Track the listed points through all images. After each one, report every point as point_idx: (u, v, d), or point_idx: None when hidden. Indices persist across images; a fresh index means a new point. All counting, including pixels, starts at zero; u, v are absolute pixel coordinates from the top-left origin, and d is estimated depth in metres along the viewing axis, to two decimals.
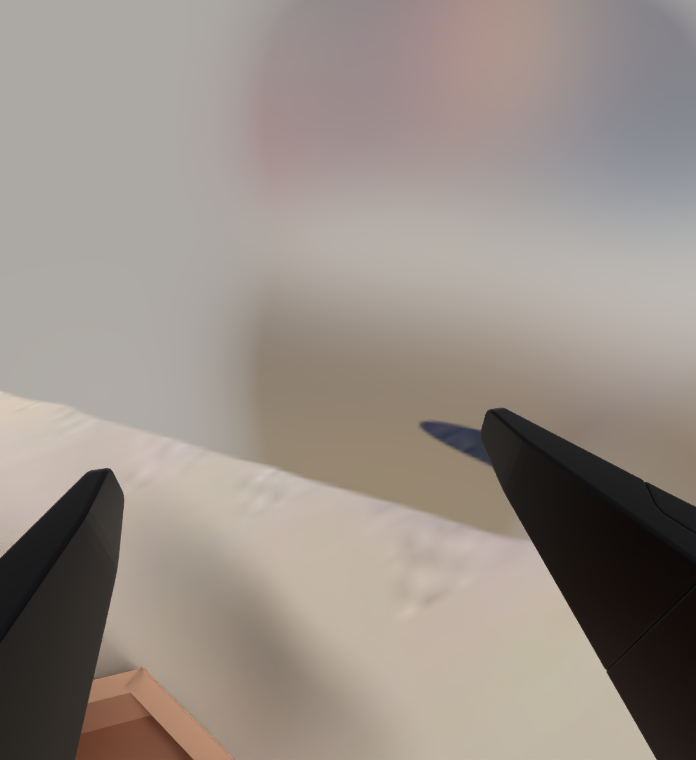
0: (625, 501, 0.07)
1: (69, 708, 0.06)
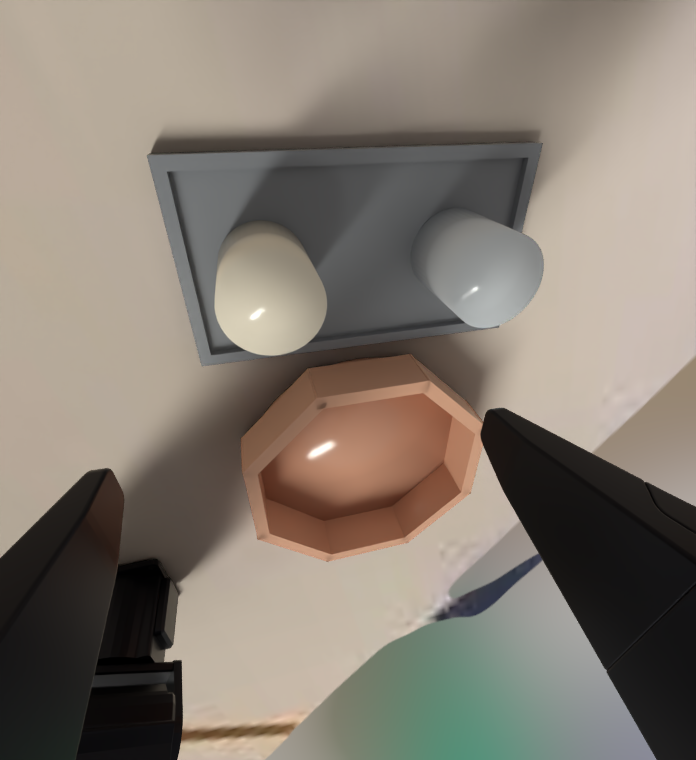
0: (625, 501, 0.07)
1: (69, 708, 0.06)
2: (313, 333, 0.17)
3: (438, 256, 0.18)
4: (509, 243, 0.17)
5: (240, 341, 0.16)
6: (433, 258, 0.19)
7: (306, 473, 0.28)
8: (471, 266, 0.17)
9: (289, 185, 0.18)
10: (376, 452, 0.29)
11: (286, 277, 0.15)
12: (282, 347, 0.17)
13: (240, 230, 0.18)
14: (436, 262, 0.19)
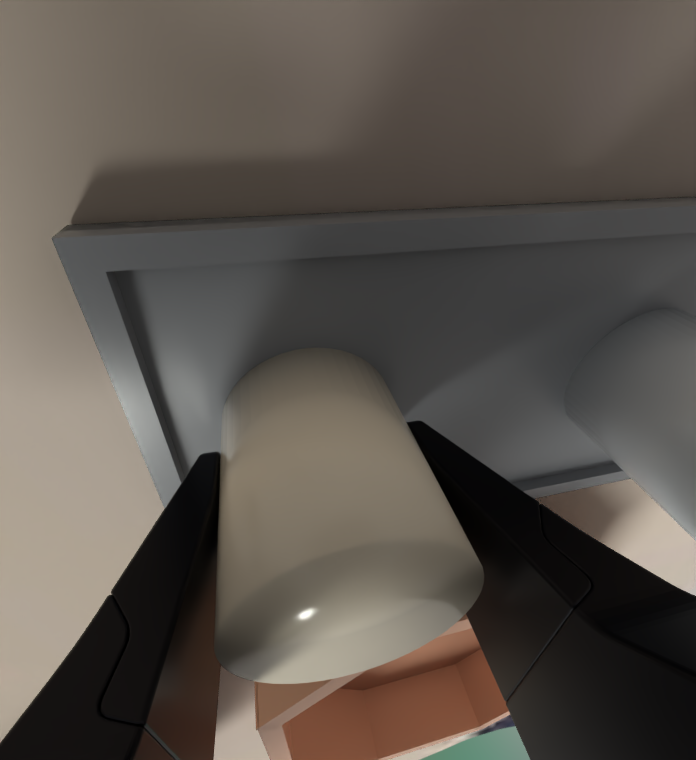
0: (511, 526, 0.07)
1: (212, 671, 0.07)
2: (435, 634, 0.07)
3: (670, 429, 0.09)
4: None
5: (273, 676, 0.07)
6: (651, 425, 0.09)
7: None
8: None
9: (375, 283, 0.09)
10: None
11: (403, 574, 0.06)
12: (364, 662, 0.08)
13: (272, 383, 0.08)
14: (663, 439, 0.09)
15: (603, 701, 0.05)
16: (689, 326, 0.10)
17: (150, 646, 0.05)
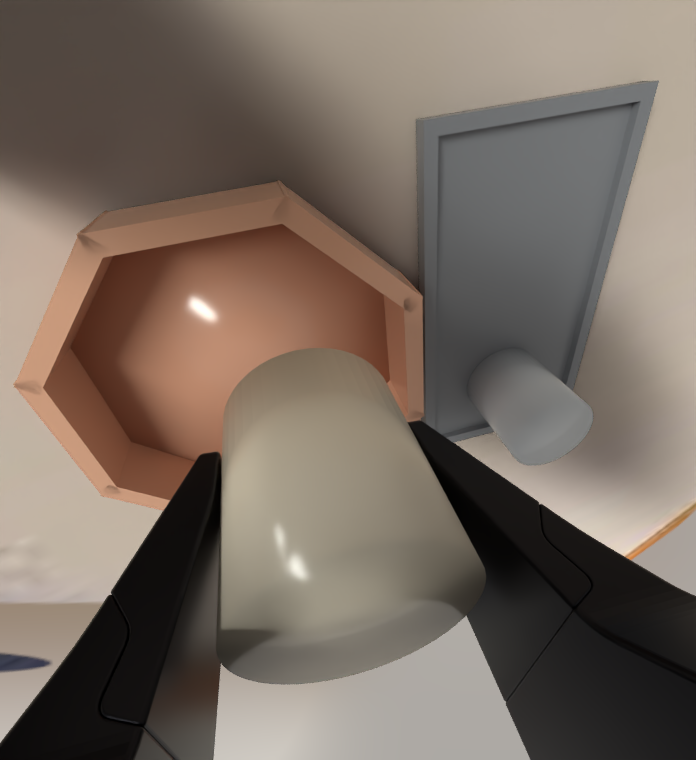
0: (511, 526, 0.07)
1: (212, 671, 0.07)
2: (436, 635, 0.07)
3: (548, 376, 0.21)
4: (583, 427, 0.20)
5: (275, 677, 0.07)
6: (541, 372, 0.21)
7: (200, 297, 0.17)
8: (575, 408, 0.19)
9: (587, 226, 0.19)
10: None
11: (404, 575, 0.06)
12: (366, 663, 0.08)
13: (274, 383, 0.08)
14: (544, 376, 0.20)
15: (603, 701, 0.05)
16: None
17: (150, 646, 0.05)
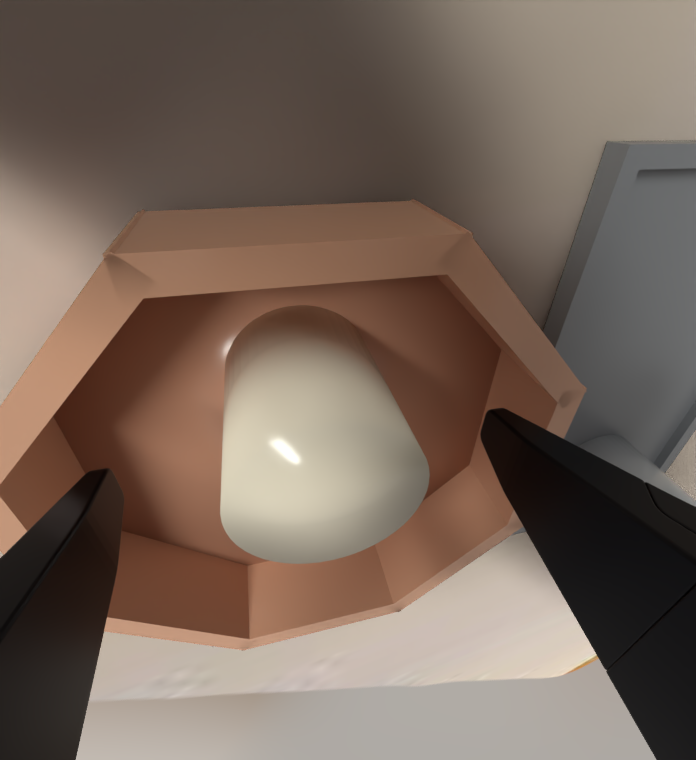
0: (625, 501, 0.07)
1: (69, 708, 0.06)
2: (396, 526, 0.09)
3: (671, 483, 0.16)
4: None
5: (266, 552, 0.09)
6: (661, 476, 0.17)
7: None
8: None
9: None
10: None
11: (363, 457, 0.08)
12: (339, 549, 0.09)
13: (266, 330, 0.10)
14: (668, 484, 0.16)
15: None
16: None
17: None
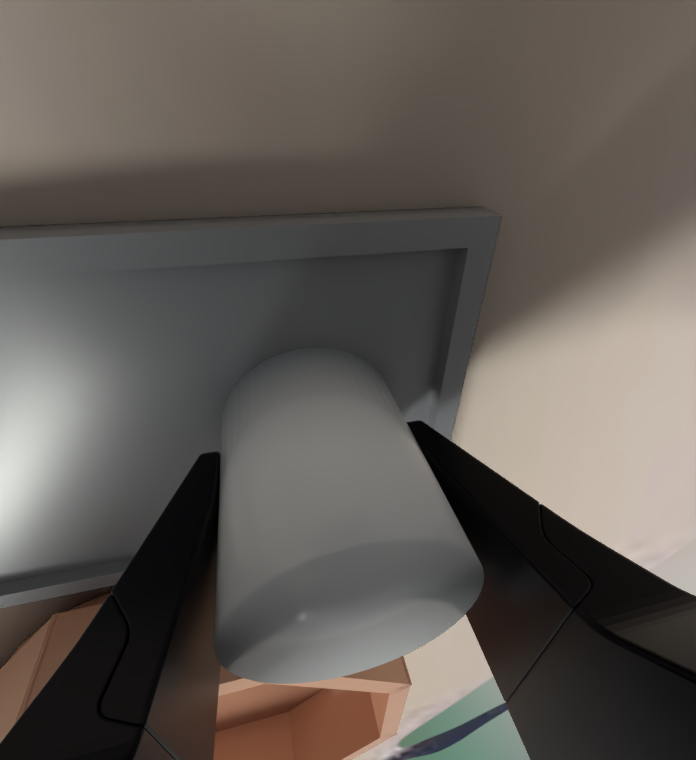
0: (511, 526, 0.07)
1: (212, 671, 0.07)
2: None
3: (220, 511, 0.07)
4: (368, 561, 0.05)
5: None
6: (219, 502, 0.08)
7: None
8: (257, 618, 0.06)
9: None
10: None
11: None
12: None
13: None
14: (218, 522, 0.07)
15: (603, 701, 0.05)
16: (302, 373, 0.08)
17: (150, 646, 0.05)
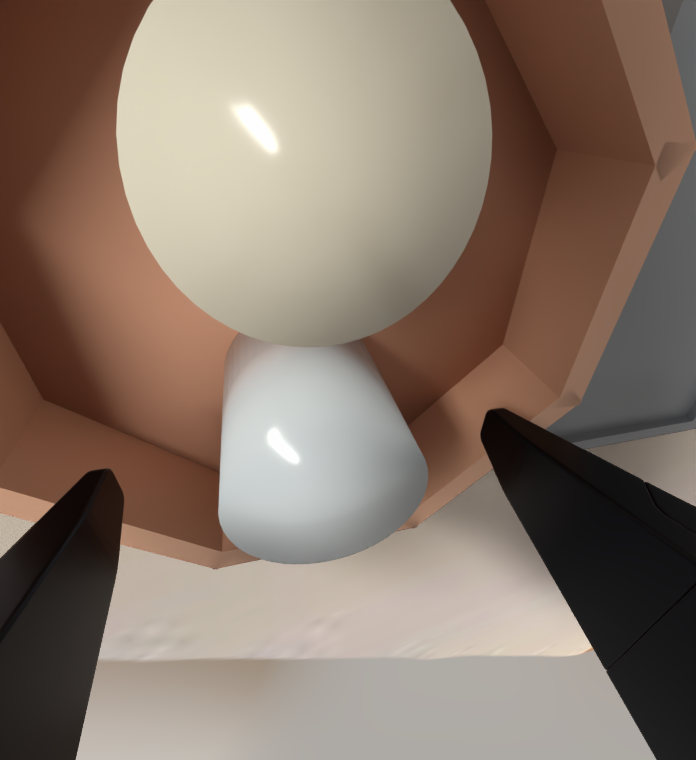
0: (625, 501, 0.07)
1: (69, 708, 0.06)
2: (428, 287, 0.06)
3: (223, 425, 0.09)
4: (332, 441, 0.07)
5: (216, 301, 0.05)
6: None
7: None
8: (250, 486, 0.07)
9: None
10: None
11: (381, 67, 0.04)
12: (338, 325, 0.06)
13: None
14: (221, 435, 0.09)
15: None
16: None
17: None
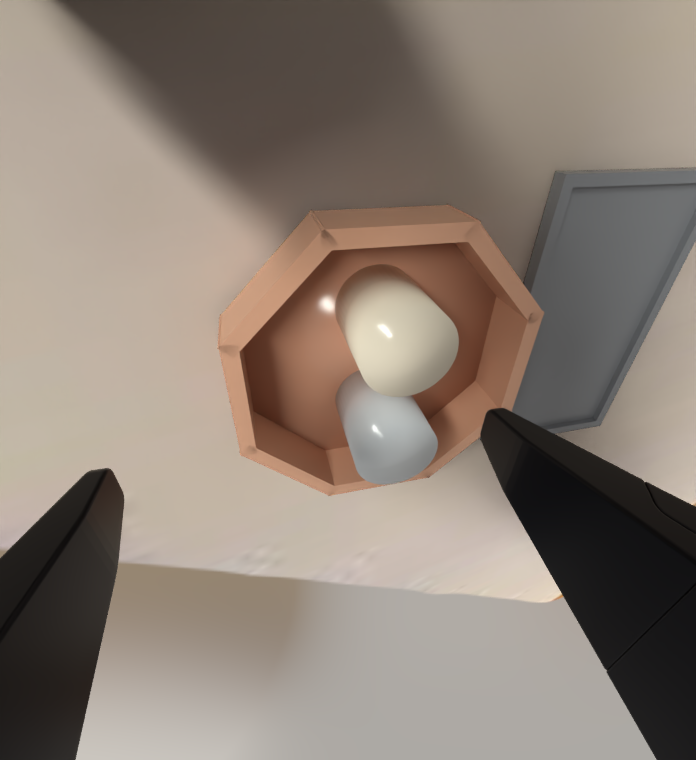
0: (625, 501, 0.07)
1: (69, 708, 0.06)
2: (439, 377, 0.18)
3: (348, 423, 0.21)
4: (402, 430, 0.19)
5: (374, 385, 0.17)
6: (346, 422, 0.21)
7: None
8: (370, 447, 0.19)
9: (654, 272, 0.24)
10: None
11: (428, 329, 0.16)
12: (409, 389, 0.18)
13: (367, 275, 0.19)
14: (347, 428, 0.21)
15: None
16: None
17: None
